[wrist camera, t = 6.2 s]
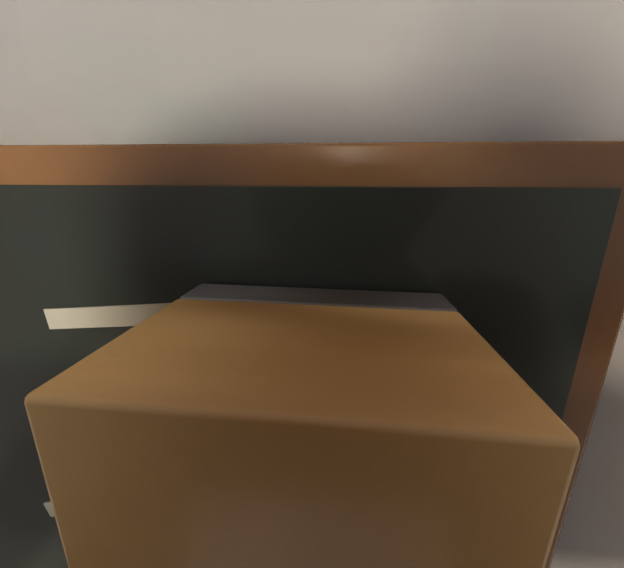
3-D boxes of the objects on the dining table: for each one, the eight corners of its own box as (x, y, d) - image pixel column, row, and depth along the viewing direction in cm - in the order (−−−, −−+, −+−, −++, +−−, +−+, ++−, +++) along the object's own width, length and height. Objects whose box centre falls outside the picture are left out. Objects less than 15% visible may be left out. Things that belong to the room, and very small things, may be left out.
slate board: (-53, 554, 12) (-91, 587, 11) (-221, 151, 8) (-302, 145, 7) (510, 625, 10) (529, 673, 9) (636, 146, 6) (691, 137, 5)
